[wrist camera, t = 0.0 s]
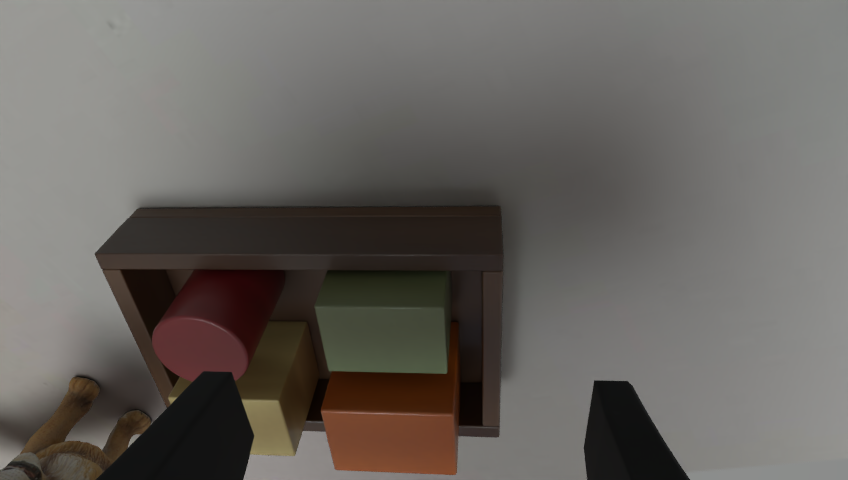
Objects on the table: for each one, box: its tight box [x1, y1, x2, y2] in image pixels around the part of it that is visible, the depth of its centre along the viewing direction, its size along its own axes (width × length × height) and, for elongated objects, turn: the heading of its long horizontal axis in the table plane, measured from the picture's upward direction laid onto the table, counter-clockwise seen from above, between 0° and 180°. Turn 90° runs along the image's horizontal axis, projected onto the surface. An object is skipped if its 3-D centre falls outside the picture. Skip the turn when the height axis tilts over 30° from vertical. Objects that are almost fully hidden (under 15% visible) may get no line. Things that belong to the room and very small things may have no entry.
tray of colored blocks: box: [95, 206, 503, 475], centre depth 19 cm, size 8×12×5 cm, turn 93°
